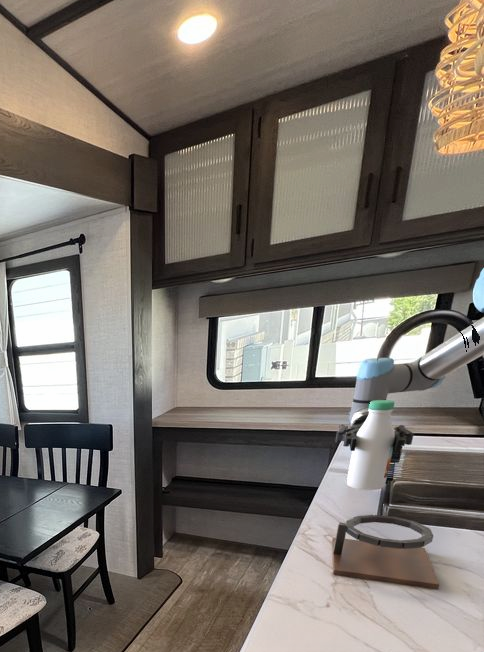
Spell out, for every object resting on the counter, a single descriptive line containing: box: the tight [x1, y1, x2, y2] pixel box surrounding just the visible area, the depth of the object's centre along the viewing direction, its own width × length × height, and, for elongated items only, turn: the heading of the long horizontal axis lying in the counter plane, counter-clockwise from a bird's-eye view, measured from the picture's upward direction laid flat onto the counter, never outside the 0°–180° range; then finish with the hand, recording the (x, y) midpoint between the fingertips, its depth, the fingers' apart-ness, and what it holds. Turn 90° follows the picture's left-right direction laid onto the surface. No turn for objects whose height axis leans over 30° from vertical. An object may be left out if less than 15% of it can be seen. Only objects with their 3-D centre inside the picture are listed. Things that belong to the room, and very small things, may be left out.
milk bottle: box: [346, 399, 395, 491], centre depth 109 cm, size 8×8×20 cm
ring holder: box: [331, 514, 441, 590], centre depth 91 cm, size 16×16×8 cm
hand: (375, 445), depth 105 cm, fingers closed on milk bottle, 8 cm apart
